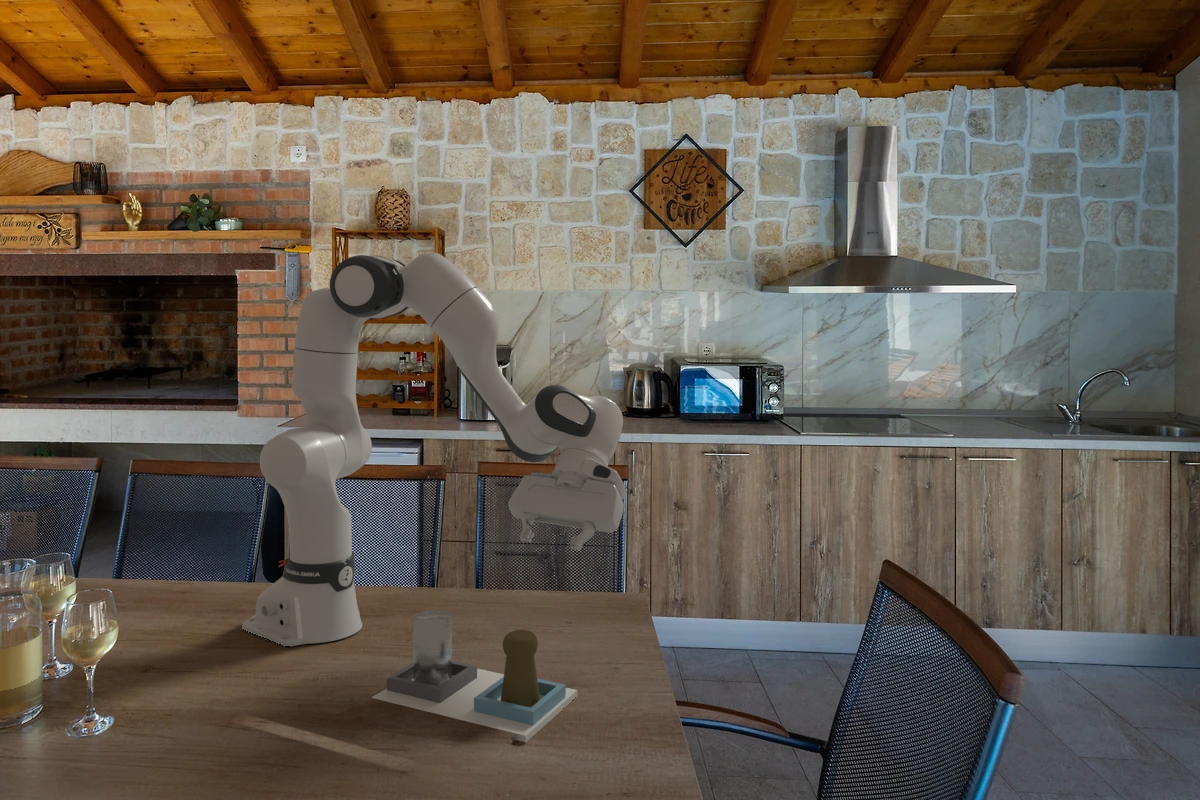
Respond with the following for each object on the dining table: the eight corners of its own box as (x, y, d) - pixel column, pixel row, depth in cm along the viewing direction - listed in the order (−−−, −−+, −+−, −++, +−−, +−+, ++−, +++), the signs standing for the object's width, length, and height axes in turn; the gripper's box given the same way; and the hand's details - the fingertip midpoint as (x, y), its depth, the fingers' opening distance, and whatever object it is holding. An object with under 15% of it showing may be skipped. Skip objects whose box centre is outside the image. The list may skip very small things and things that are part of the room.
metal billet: (405, 687, 129) (404, 619, 128) (428, 673, 135) (428, 607, 134) (437, 695, 127) (436, 625, 126) (459, 680, 132) (459, 613, 131)
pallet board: (371, 703, 126) (371, 684, 126) (434, 665, 140) (434, 647, 140) (525, 742, 115) (525, 721, 114) (577, 696, 129) (577, 677, 129)
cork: (533, 715, 120) (533, 642, 119) (494, 710, 122) (494, 638, 121) (545, 697, 126) (545, 627, 125) (507, 693, 128) (507, 624, 127)
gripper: (520, 460, 148) (489, 525, 140) (625, 472, 139) (598, 542, 131) (532, 480, 152) (502, 545, 144) (634, 494, 144) (609, 563, 136)
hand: (549, 544), depth 138 cm, fingers open, 8 cm apart
